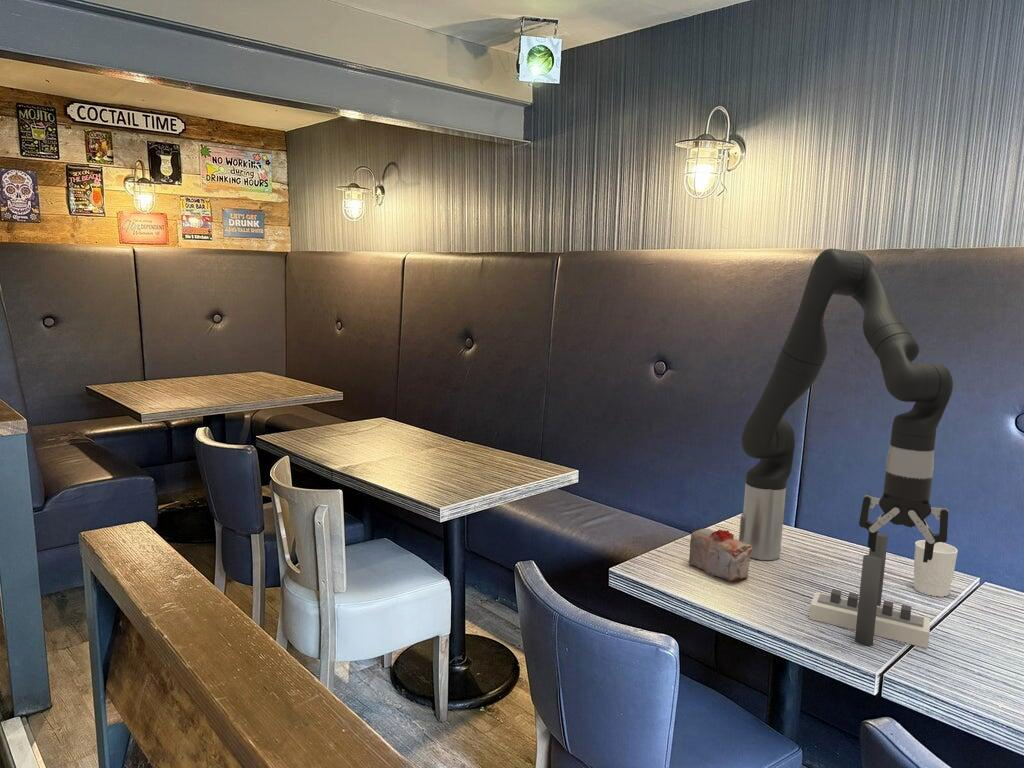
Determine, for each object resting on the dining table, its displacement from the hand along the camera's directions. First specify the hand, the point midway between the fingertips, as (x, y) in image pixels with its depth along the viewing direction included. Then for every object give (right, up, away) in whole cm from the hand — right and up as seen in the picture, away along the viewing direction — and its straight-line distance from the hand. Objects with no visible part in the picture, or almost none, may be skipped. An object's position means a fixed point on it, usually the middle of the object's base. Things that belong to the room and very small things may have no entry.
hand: (899, 555), depth 132 cm
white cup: (+19, -13, +22) cm, 32 cm away
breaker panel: (-4, -14, +4) cm, 15 cm away
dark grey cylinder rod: (0, -14, +10) cm, 17 cm away
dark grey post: (-8, -15, -2) cm, 17 cm away
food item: (-25, -11, +28) cm, 39 cm away
